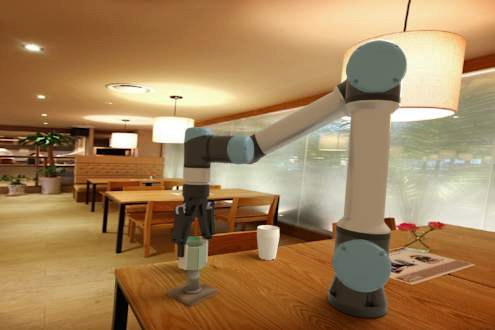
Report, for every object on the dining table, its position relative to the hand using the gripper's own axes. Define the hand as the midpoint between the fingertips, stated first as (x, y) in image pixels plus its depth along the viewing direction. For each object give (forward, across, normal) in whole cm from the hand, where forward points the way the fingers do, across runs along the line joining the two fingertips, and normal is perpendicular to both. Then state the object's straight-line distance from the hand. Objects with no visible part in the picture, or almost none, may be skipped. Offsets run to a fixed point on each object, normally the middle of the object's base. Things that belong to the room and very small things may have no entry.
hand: (193, 264), depth 82 cm
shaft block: (+8, 0, 0) cm, 8 cm away
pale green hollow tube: (0, 0, 0) cm, 0 cm away
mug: (+9, -12, -12) cm, 19 cm away
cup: (+8, -41, -1) cm, 42 cm away
